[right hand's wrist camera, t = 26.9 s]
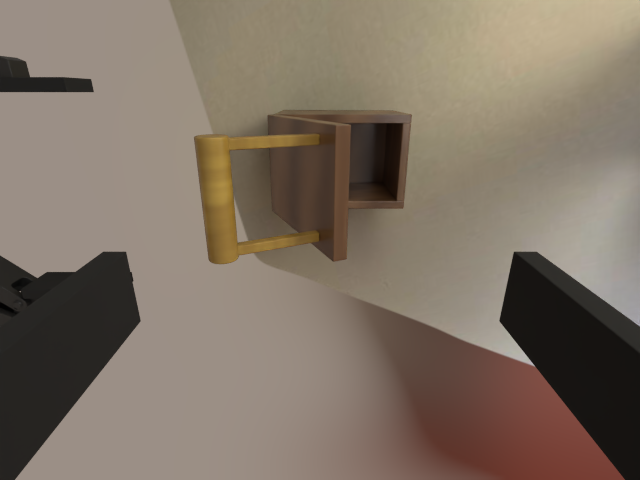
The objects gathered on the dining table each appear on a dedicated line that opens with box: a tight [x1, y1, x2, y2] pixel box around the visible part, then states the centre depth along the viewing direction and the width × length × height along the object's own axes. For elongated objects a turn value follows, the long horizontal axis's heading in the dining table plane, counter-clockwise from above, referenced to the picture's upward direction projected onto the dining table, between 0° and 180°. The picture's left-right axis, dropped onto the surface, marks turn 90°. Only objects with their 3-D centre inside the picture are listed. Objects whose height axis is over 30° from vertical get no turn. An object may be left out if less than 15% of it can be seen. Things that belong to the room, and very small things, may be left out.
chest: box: [274, 110, 412, 208], centre depth 40 cm, size 13×9×9 cm
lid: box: [194, 115, 351, 264], centre depth 28 cm, size 13×9×9 cm
